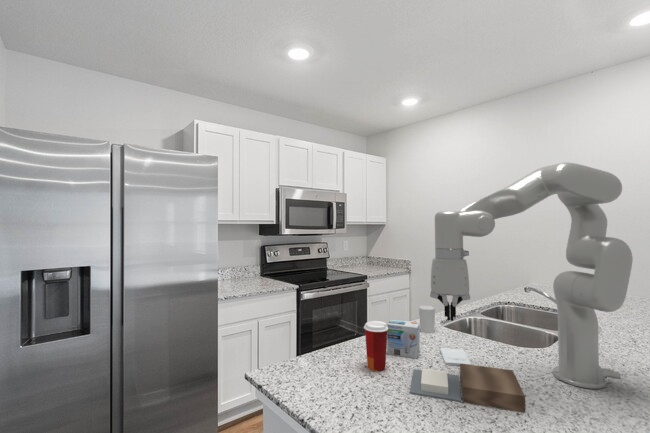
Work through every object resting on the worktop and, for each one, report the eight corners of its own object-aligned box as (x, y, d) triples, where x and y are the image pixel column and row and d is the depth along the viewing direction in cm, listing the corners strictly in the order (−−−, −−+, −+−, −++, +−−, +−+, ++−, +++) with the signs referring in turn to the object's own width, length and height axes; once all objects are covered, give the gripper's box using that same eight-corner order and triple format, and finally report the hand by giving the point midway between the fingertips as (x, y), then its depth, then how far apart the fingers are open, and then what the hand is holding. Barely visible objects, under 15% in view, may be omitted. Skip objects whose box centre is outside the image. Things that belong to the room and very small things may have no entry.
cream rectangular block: (422, 368, 100) (422, 374, 100) (421, 383, 90) (421, 390, 90) (446, 371, 98) (446, 378, 98) (448, 387, 88) (448, 394, 88)
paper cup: (391, 365, 107) (390, 322, 108) (385, 375, 100) (384, 328, 101) (368, 361, 111) (367, 319, 111) (360, 370, 104) (360, 325, 104)
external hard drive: (463, 354, 118) (472, 369, 106) (439, 352, 120) (445, 366, 107) (463, 349, 118) (472, 363, 106) (439, 347, 120) (445, 361, 107)
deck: (512, 384, 95) (512, 370, 95) (525, 412, 80) (525, 396, 80) (460, 376, 99) (459, 363, 99) (463, 402, 85) (463, 386, 85)
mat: (458, 376, 99) (458, 375, 99) (461, 402, 85) (461, 400, 85) (413, 370, 104) (413, 369, 104) (409, 393, 90) (409, 392, 90)
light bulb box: (386, 354, 116) (386, 323, 117) (390, 348, 123) (390, 318, 123) (418, 359, 112) (417, 327, 113) (420, 352, 119) (419, 321, 119)
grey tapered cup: (437, 333, 138) (437, 309, 138) (421, 333, 138) (421, 309, 138) (432, 328, 145) (432, 305, 145) (417, 328, 145) (417, 305, 145)
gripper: (476, 254, 95) (477, 318, 95) (422, 253, 100) (423, 313, 100) (479, 256, 88) (480, 325, 88) (421, 255, 93) (422, 320, 93)
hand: (450, 319), depth 94 cm, fingers closed
